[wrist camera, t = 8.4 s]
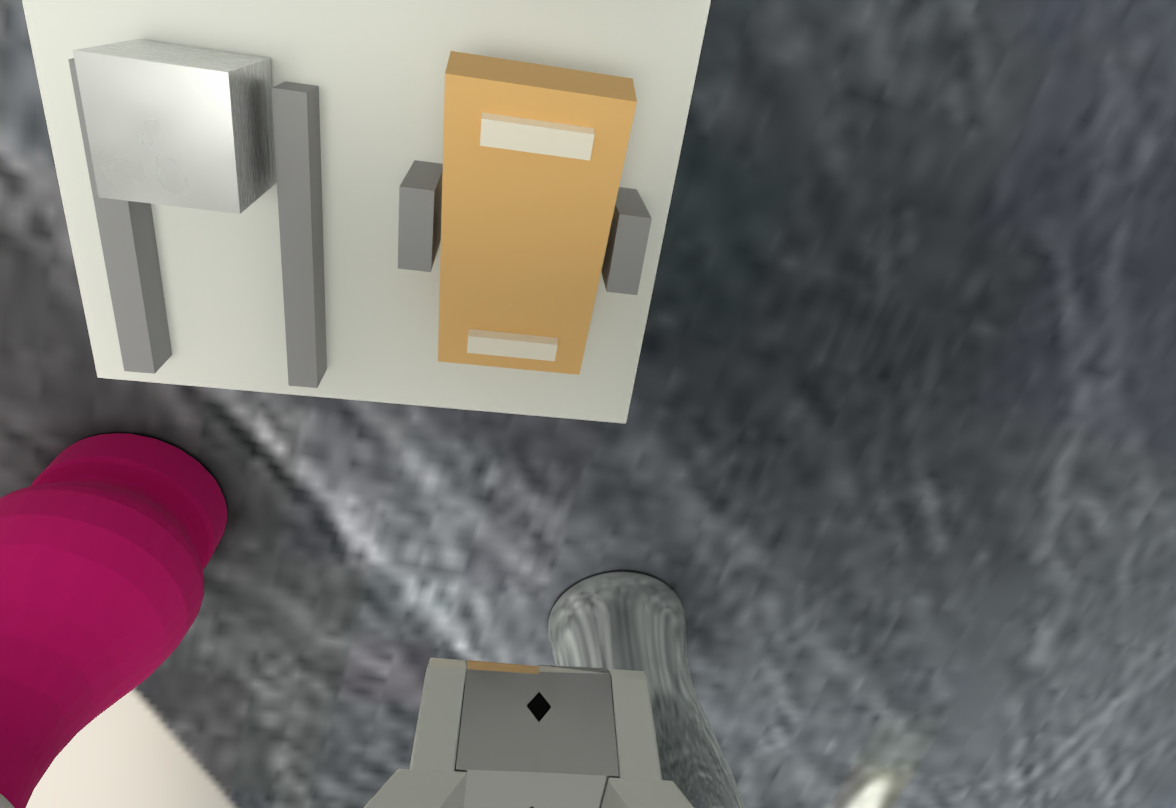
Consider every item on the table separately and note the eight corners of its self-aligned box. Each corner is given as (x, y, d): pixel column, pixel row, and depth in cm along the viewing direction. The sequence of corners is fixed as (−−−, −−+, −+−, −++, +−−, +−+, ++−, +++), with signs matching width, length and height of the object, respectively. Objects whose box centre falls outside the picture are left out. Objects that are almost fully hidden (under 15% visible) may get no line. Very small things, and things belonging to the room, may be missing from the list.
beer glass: (504, 626, 33) (492, 1056, 20) (619, 535, 31) (691, 949, 18) (612, 695, 35) (663, 1111, 23) (725, 616, 33) (853, 1024, 20)
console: (758, -383, 17) (855, -529, 12) (616, 380, 27) (637, 473, 22) (-4, -570, 15) (-270, -842, 10) (142, 335, 25) (45, 427, 20)
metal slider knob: (270, 58, 18) (228, 72, 16) (277, 182, 20) (239, 213, 17) (138, 38, 18) (72, 50, 15) (155, 166, 19) (98, 196, 17)
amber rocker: (633, 78, 17) (637, 108, 16) (578, 346, 22) (579, 382, 21) (450, 50, 16) (443, 79, 15) (442, 333, 22) (436, 368, 21)
